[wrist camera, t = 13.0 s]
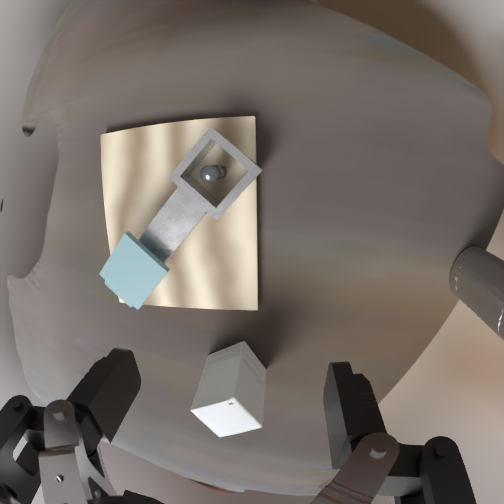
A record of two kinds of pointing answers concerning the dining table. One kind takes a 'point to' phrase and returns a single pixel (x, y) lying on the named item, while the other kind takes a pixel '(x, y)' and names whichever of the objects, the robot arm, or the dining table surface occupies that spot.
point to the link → (193, 198)
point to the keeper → (133, 271)
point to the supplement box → (231, 391)
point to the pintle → (212, 173)
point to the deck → (209, 229)
